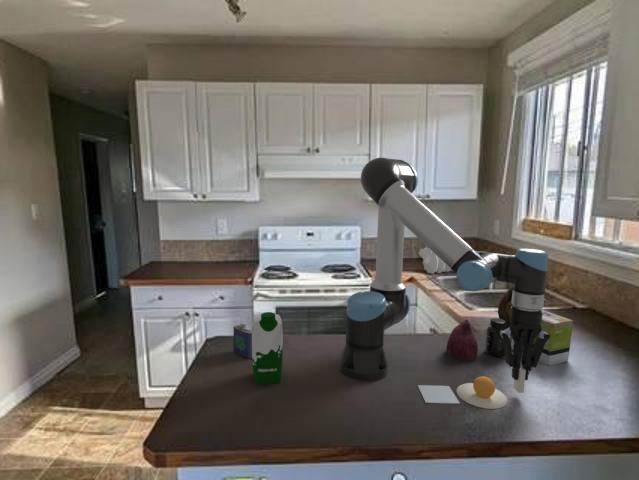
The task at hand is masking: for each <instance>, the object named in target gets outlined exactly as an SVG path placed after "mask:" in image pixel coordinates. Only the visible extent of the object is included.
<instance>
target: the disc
mask: <svg viewBox="0 0 639 480" xmlns="http://www.w3.org/2000/svg"><path fill="white" fill-rule="evenodd" d="M473 383H474V382H466V383H463V384H460V385H459V386H457V388H456V394H457V396H458V397H459V398H460V400H462V401H464V402H465V403H467V404H469V405H471V406H474V407H477V408H481V409H487V410H496V409H502V408H505V406H507V404H508V398H507V396H506V395H505V394H504V393H503V392H502V391H501V390H499V389H497V388H495V392H494V394H493V395H492V396H490V397H488V398H483V397H480V396H479V395H477V394H476V392H475V391H474V388H473Z"/></svg>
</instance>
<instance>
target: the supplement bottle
mask: <svg viewBox="0 0 639 480" xmlns="http://www.w3.org/2000/svg"><path fill="white" fill-rule="evenodd" d="M505 327H506V321H505V320H503V319H499V317H498V318H497V317H493V318H491V319H490V322H489V326H488V327H486V331H485V343H484V353H485V354H486V355H488V356H489V357H493V358H498V359H499V358H505V354H504V348H503V342H502V337H501V336H500V334H499V331H500V330H502V331H504V330H505V329H506V328H505Z"/></svg>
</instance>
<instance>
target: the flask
mask: <svg viewBox="0 0 639 480" xmlns="http://www.w3.org/2000/svg"><path fill="white" fill-rule="evenodd" d="M232 343H233V349H232V351H233V354H234V355H236V356H238V357H240V358H244V359H245V360H252V329H247V328H246V323H244V324H243V323H240V324H239V325H237V324H236V325H234V326H233V342H232Z"/></svg>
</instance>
